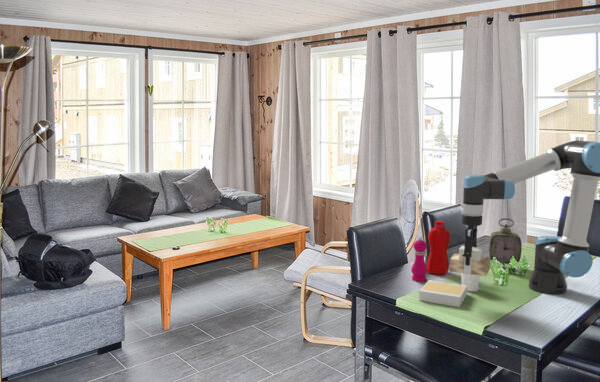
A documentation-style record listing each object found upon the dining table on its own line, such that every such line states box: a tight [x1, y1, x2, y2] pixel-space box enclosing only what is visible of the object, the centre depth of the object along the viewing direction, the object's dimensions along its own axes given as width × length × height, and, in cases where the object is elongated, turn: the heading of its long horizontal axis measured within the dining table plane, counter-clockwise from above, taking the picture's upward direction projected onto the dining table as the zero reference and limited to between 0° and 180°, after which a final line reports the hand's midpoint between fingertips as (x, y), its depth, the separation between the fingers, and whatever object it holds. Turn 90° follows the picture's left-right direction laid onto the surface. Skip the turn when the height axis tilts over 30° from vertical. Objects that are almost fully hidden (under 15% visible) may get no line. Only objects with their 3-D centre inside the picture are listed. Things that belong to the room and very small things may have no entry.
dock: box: [418, 279, 468, 308], centre depth 217 cm, size 16×16×4 cm
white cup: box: [460, 273, 481, 292], centre depth 227 cm, size 8×8×10 cm
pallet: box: [448, 252, 491, 277], centre depth 209 cm, size 14×10×5 cm
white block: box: [458, 245, 483, 261], centre depth 208 cm, size 8×6×4 cm
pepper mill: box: [410, 236, 428, 283], centre depth 240 cm, size 7×7×20 cm
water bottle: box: [426, 220, 453, 276], centre depth 250 cm, size 9×11×25 cm
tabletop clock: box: [488, 217, 522, 266], centre depth 257 cm, size 14×9×25 cm, turn 73°
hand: (469, 269), depth 209 cm, fingers closed on pallet, 10 cm apart
